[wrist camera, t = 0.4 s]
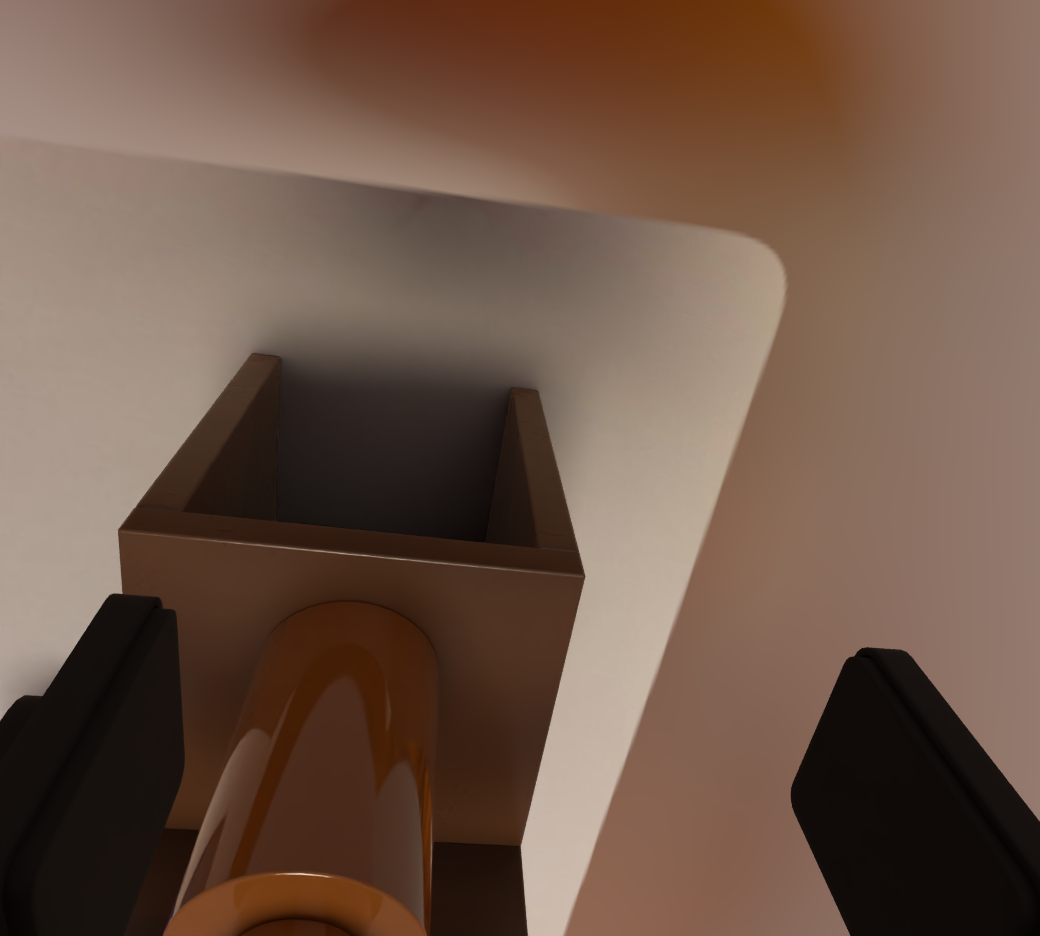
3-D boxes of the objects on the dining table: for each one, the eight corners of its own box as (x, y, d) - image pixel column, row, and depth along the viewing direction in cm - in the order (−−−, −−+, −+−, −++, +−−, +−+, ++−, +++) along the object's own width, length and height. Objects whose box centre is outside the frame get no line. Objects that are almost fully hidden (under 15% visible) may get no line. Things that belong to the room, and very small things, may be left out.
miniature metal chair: (251, 352, 32) (-85, 792, 12) (539, 390, 33) (651, 831, 14) (247, 592, 37) (8, 1173, 17) (497, 615, 39) (536, 1169, 19)
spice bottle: (260, 592, 20) (101, 1002, 11) (449, 608, 21) (442, 1009, 12) (257, 732, 23) (121, 1173, 14) (429, 744, 23) (410, 1171, 14)
